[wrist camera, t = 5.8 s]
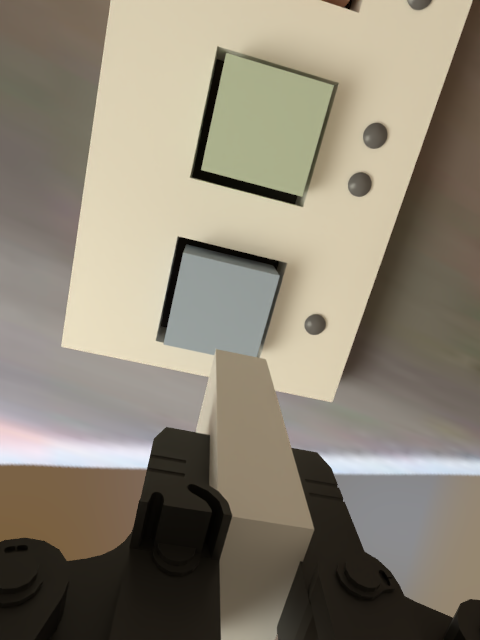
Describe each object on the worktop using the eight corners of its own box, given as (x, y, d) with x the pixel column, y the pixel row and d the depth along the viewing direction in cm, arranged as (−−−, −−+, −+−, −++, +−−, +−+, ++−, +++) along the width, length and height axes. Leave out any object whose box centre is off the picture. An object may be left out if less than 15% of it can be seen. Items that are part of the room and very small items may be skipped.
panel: (74, 331, 27) (60, 347, 25) (160, -239, 19) (152, -300, 17) (322, 383, 29) (332, 403, 27) (490, -114, 22) (526, -151, 19)
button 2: (202, 170, 24) (200, 169, 21) (224, 66, 22) (226, 52, 20) (292, 194, 24) (302, 196, 22) (320, 95, 23) (334, 85, 20)
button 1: (168, 327, 26) (163, 344, 24) (186, 244, 25) (183, 252, 22) (250, 345, 27) (254, 363, 24) (273, 265, 25) (279, 275, 23)
